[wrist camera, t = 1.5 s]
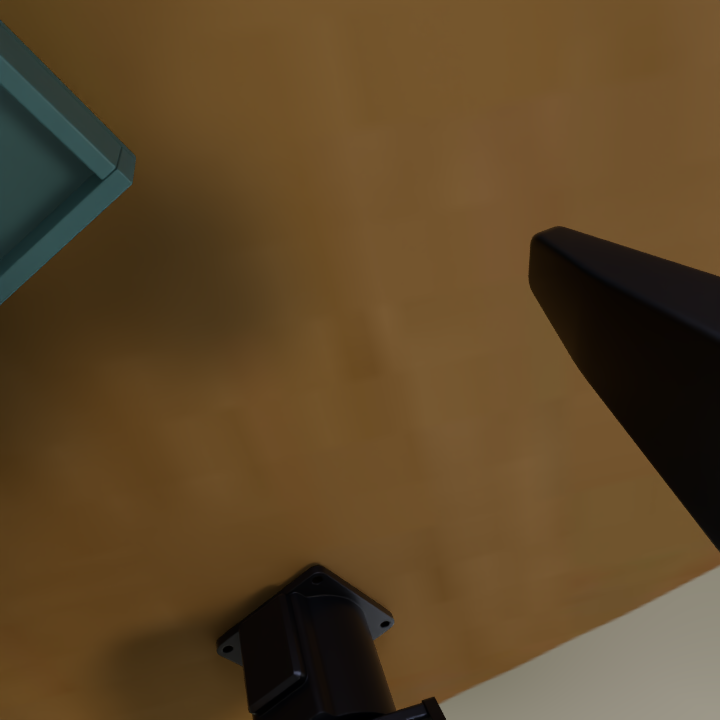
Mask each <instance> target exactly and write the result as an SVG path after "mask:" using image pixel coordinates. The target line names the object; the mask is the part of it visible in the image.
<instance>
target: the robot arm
mask: <svg viewBox="0 0 720 720" xmlns="http://www.w3.org/2000/svg"><path fill="white" fill-rule="evenodd" d="M528 276H529V284H530V288H531V290H532V292H533V294H534V296H535V297H536V299H537V301H538V302H539V304H540V306H541V307H542V309H543V311H544V312H545V314H546V316H547V317H548V319H549V321H550V322H551V324H552V326H553V328H554V329H555V331H556V333H557V334H558V336H559V338H560V339H561V341H562V343H563V344H564V346H565V348H566V349H567V351H568V353H569V354H570V356H571V358H572V359H573V361H574V362H575V364H576V365H577V367H578V369H579V370H580V371H581V373H582V374H583V375H584V377H585V378H586V380H587V381H588V382H589V384H590V385H591V386H592V387H593V389H594V390H595V391H596V393H597V394H598V395H599V397H600V398H601V399H602V400H603V402H604V403H605V404H606V406H607V407H608V408H609V410H610V411H611V412H612V413H613V415H614V416H615V417H616V419H617V420H618V421H619V422H620V424H621V425H622V426H623V428H624V429H625V430H626V432H627V433H628V434H629V435H630V437H631V438H632V439H633V441H634V442H635V443H636V444H637V446H638V447H639V448H640V450H641V451H642V452H643V454H644V455H645V456H646V457H647V459H648V460H649V461H650V463H651V464H652V465H653V466H654V468H655V469H656V470H657V472H658V473H659V474H660V476H661V477H662V478H663V479H664V481H665V482H666V483H667V485H668V486H669V487H670V489H671V490H672V491H673V492H674V494H675V495H676V496H677V498H678V499H679V500H680V501H681V503H682V504H683V505H684V507H685V508H686V509H687V511H688V512H689V513H690V514H691V516H692V517H693V518H694V520H695V521H696V522H697V523H698V525H699V526H700V527H701V529H702V530H703V531H704V533H705V534H706V535H707V536H708V538H709V539H710V540H711V542H712V543H713V544H714V545H715V547H716V548H717V549H718V551H719V552H720V277H719V276H716V275H713V274H710V273H707V272H704V271H700V270H697V269H694V268H691V267H688V266H685V265H682V264H679V263H675V262H672V261H669V260H666V259H663V258H660V257H657V256H653V255H650V254H647V253H644V252H641V251H638V250H635V249H631V248H628V247H625V246H622V245H619V244H616V243H613V242H610V241H606V240H603V239H600V238H597V237H594V236H591V235H588V234H584V233H581V232H578V231H575V230H572V229H569V228H566V227H562V226H557V227H553V228H550V229H547V230H545V231H542V232H539V233H537V234H535V235H534V236H533V237H532V240H531V244H530V259H529V275H528ZM317 576H318V577H317ZM393 624H394V619H393V616H392V614H391V612H389V611H388V610H387V609H385V608H384V607H382V606H381V605H379V604H378V603H376V602H375V601H373V600H372V599H370V598H369V597H367V596H366V595H364V594H363V593H362V592H360V591H359V590H357V589H356V588H354V587H353V586H351V585H350V584H348V583H347V582H345V581H344V580H342V579H341V578H339V577H338V576H337V575H335V574H334V573H332V572H331V571H329V570H328V569H326V568H325V567H323V566H314V567H311V568H310V569H308V570H307V571H306V572H304V573H303V574H302V575H300V576H299V577H298V578H296V579H295V580H294V581H293V582H291V583H290V584H289V585H287V586H286V587H285V588H284V589H282V590H281V591H280V592H278V593H277V594H276V595H274V596H273V597H272V598H271V599H269V600H268V601H267V602H265V603H264V604H263V605H262V606H260V607H259V608H258V609H256V610H255V611H254V612H252V613H251V614H250V615H249V616H247V617H246V618H245V619H243V620H242V621H241V622H239V623H238V624H237V625H236V626H234V627H233V628H232V629H230V630H229V631H228V632H227V633H225V634H224V635H223V636H221V637H220V638H219V639H218V640H217V642H216V648H217V653H218V654H219V655H220V656H222V657H224V658H227V659H229V660H231V661H233V662H235V663H237V664H239V665H241V666H243V671H244V679H245V687H246V695H247V703H248V710H249V713H252V716H253V720H446V718H445V716H444V715H443V712H442V710H441V709H440V707H439V705H438V703H437V701H436V699H435V697H431V698H428V699H425V700H422V703H420V704H417V705H413V706H410V707H407V708H404V709H400V710H397V711H396V708H395V705H394V702H393V699H392V696H391V693H390V690H389V687H388V684H387V681H386V678H385V675H384V672H383V669H382V666H381V663H380V660H379V657H378V654H377V651H376V648H375V645H374V642H373V640H375V639H376V638H377V637H379V636H380V635H382V634H383V633H384V632H386V631H387V630H388V629H390V628H391V627H392V626H393Z"/></svg>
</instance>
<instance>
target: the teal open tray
mask: <svg viewBox="0 0 720 720" xmlns="http://www.w3.org/2000/svg"><path fill="white" fill-rule="evenodd" d="M135 160H136V156H135V155H134V154H133V153H132V152H131V151H130V150H129V149H128V148H127V147H126V146H125V145H124V144H123V143H122V142H121V141H120V140H119V139H118V138H117V137H116V136H115V135H114V134H113V133H112V132H111V131H110V130H109V129H108V128H107V127H106V126H105V125H104V124H103V123H102V122H101V121H100V120H99V119H98V118H97V117H96V116H95V115H94V114H93V113H92V112H91V111H90V110H89V109H88V108H87V107H86V106H85V105H84V104H83V103H82V102H81V101H80V100H79V99H78V98H77V97H76V96H75V95H74V94H73V93H72V92H71V91H70V90H69V89H68V88H67V87H66V86H65V85H64V84H63V83H62V82H61V81H60V80H59V79H58V78H57V77H56V76H55V74H54V73H53V72H52V71H51V70H50V69H49V68H48V67H47V66H46V65H45V64H44V63H43V62H42V61H41V60H40V59H39V58H38V57H37V56H36V55H35V54H34V53H33V52H32V51H31V50H30V49H29V48H28V47H27V46H26V45H25V44H24V43H23V42H22V41H21V40H20V39H19V38H18V37H17V36H16V35H15V34H14V33H13V32H12V31H11V30H10V29H9V28H8V27H7V26H6V25H5V24H4V23H3V22H2V21H1V20H0V305H1V304H2V303H3V302H4V301H5V300H6V299H7V298H8V297H10V296H11V295H12V294H13V293H14V292H15V291H16V290H17V289H18V288H19V287H20V286H22V285H23V284H24V283H25V282H26V281H27V280H28V279H29V278H30V277H31V276H32V275H34V274H35V273H36V272H37V271H38V270H39V269H40V268H41V267H42V266H43V265H44V264H46V263H47V262H48V261H49V260H50V259H51V258H52V257H53V256H54V255H55V254H56V253H58V252H59V251H60V250H61V249H62V248H63V247H64V246H65V245H66V244H67V243H68V242H70V241H71V240H72V239H73V238H74V237H75V236H76V235H77V234H78V233H79V232H80V231H82V230H83V229H84V228H85V227H86V226H87V225H88V224H89V223H90V222H91V221H92V220H94V219H95V218H96V217H97V216H98V215H99V214H100V213H101V212H102V211H103V210H104V209H106V208H107V207H108V206H109V205H110V204H111V203H112V202H113V201H114V200H115V199H116V198H118V197H119V196H120V195H121V194H122V193H123V192H124V191H125V190H126V189H127V188H128V187H130V186H131V185H132V183H133V176H134V169H135V162H136V161H135Z"/></svg>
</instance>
